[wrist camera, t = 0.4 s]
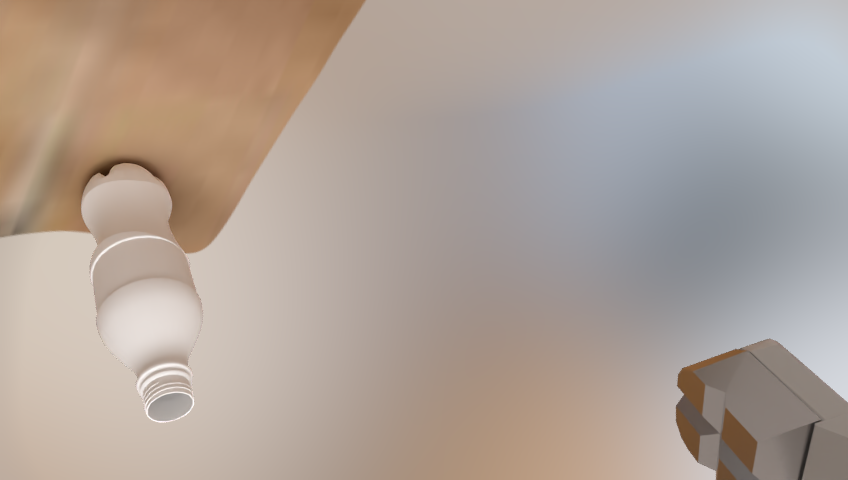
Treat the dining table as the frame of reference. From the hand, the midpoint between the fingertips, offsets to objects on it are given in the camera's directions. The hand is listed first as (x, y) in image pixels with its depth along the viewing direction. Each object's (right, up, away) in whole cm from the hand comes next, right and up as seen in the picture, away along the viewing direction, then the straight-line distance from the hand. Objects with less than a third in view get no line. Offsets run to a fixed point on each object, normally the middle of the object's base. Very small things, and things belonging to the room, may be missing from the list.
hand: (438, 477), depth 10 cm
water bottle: (-27, +8, +49) cm, 57 cm away
